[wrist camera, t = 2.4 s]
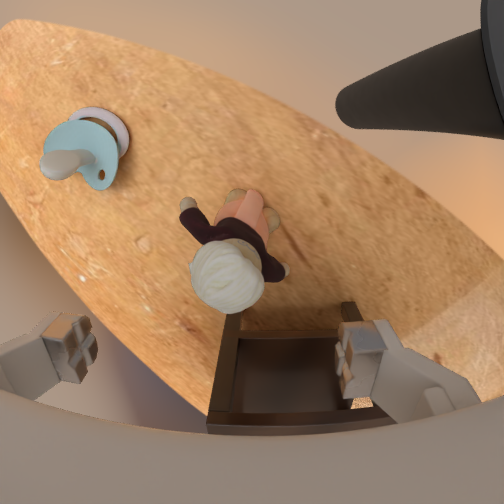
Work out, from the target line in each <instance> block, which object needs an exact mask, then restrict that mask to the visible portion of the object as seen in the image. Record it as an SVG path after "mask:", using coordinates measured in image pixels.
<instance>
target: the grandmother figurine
mask: <svg viewBox="0 0 504 504" xmlns="http://www.w3.org/2000/svg"><path fill="white" fill-rule="evenodd" d="M263 204H264V201H263V198H262V196H261V195H260V193H258V192H257V191H255V190H253V189H249V190H248V191H247V192H246V191H244V190H242V189H235V190H232V191H231V192H230V193H229V194H228V196H227V198H226V201H225V204H224V206H223V207H222V208H221V209H220V210H219V211H218V213H217V216H216V218H215V222H214V226H210V224H209V222H208V220H207V219H206V217H205V215H204V214H203V213H202V212H201V211H200V210H199V208H198V207H197V203H196V201H195V199H193V198H191V197H186V198H184V199H182V201H181V202H180V209H181V214H180V217H179V219H180V221H181V223H182V225H183V226H184V227H185V228H186V229H187V230H188V231H189V232H190V233H191V234H192V235H193V236H194V237H195V238H196V239H197V240H198V241H199V242H200V243H201V244H203V246H202V247H201V248H200V249H199V250H198V251H197V253H196V254H195V257H194V259H193V262H192V263H189V269H190V273H191V283H192V287H193V289H194V291H195V293H196V294H197V296H198V297H199V298H200V299H201V300H202V301H203V302H205V303H206V304H207V305H209V306H210V307H212V308H215V309H217V310H219V311H220V312H222V313H226V314H233V313H237V312H240V311H242V310H244V309H246V308H248V307H250V306H252V305H253V304H254V303H255V302H256V301H257V300H258V299H259V298H260V297H261V295H262V293H263V291H264V288H265V287H264V282H273V283H276V282H280V281H282V280H283V279H284V278H285V277H287V276H288V274H289V272H290V268H289V266H288V264H286V263H285V262H278V261H277V260H276V259H275V258H274V257H272V256H271V255H270V254H268V253H267V251H266V250H267V241H268V237H269V233H271V232H273V231H274V230H276V229H277V228H278V226H279V224H280V217H279V215H278V214H277V212H276V211H275V210H274V209H272V208H268V207H265V208H263Z"/></svg>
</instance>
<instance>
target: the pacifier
mask: <svg viewBox="0 0 504 504" xmlns="http://www.w3.org/2000/svg"><path fill="white" fill-rule="evenodd" d="M87 117H95V118H99V119H101V120H103V121H105V122H106V123H108V124H109V125H110V126H111V127H112V128H113V130H114V131H115V133H116V135H117V140H118V142H117V143H116V141H115V139H114V137H113V136H112V135H111V133H110V132H109V131H108V130H107V129H105V128H104V127H103V126H101V125H99V124H97V123H94V122H91V121H87V120H82V119H84V118H87ZM128 145H129V134H128V131H127V129H126V127H125V125H124V124H123V122H122V121H121V120H120V119H119V118H118V117H117V116H116V115H114V114H113V113H111V112H109V111H107V110H105V109H102V108H98V107H86V108H82V109H79V110H77V111H76V112H74V113H73V114H72V115H71V116H70V117H69V119H68V121H67V122H63V123H62V124H60V125H58V126H57V127H56V128H54V130H52V131H51V132H50V134H49V135H48V137H47V138H46V140H45V144H44V149H43V151H44V155H43V156H42V157H41V159H40V164H39V165H40V170H41V172H42V173H43V175H44V176H46V177H47V178H49V179H51V180H63V179H66V178H68V177H70V176H72V175H73V174H74V173H76V172H80V173H82V175H83V177H84V179H85V180H86V182H87V183H88V184H89V185H90V186H91V187H92V188H94V189H96V190H104V189H106V188H108V187H109V186H110V185H111V184H112V183H113V181H114V179H115V177H116V174H117V170H118V164H119V158H120V157H122V156H123V155H124V154H125V152H126V151H127V149H128ZM101 170H104V171H105V178H104V180H101V179H100V176H99V174H100V171H101Z"/></svg>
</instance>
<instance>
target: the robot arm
mask: <svg viewBox="0 0 504 504" xmlns="http://www.w3.org/2000/svg"><path fill="white" fill-rule="evenodd" d="M91 328H92V325H91V322H90V319H89V318H88V317H87V316H85V315H78V314H70V313H62V312H50V313H49V314H48V315H47V316H46V317H45V318H44V319H43V320H42V321H41V322H40V323H39V324H38V325H37V326H36V327H35V328H34V329H33V330H32V331H31V332H30V333H29V334H24V335H22V336H20V337H17V338H15V339H12V340H10V341H8V342H5V343H3V344H1V345H0V504H504V395H503V396H500V397H497V398H494V399H491V400H488V401H485V402H481V400H480V398H479V397H478V395H477V394H476V392H475V391H474V389H473V388H472V386H471V385H470V383H469V381H468V380H467V379H466V378H464V377H462V376H460V375H458V374H457V373H455V372H453V371H451V370H449V369H447V368H445V367H443V366H442V365H440V364H438V363H436V362H434V361H432V360H430V359H429V358H427V357H425V356H423V355H421V354H419V353H417V352H416V351H414V350H412V349H410V348H404V347H403V345H402V343H401V341H400V340H399V338H398V336H397V335H396V333H395V332H394V330H393V328H392V327H391V325H390V323H389V322H388V320H386V319H378V320H370V321H357V322H342V323H340V324H339V327H338V332H337V335H338V338H339V342H338V343H337V344H336V345H335V351H334V366H335V371H336V374H337V375H339V376H340V381H339V386H340V389H341V393H342V396H343V399H348V398H361V397H370V399H371V400H372V401H374V402H375V403H376V404H377V405H378V406H379V407H380V408H381V409H382V410H384V411H385V412H386V413H387V414H388V415H389V416H390V417H391V418H393V419H394V420H395V421H396V422H397V423H398V424H393V425H388V426H382V427H375V428H368V429H361V430H354V431H345V432H336V433H325V434H312V435H292V436H234V435H214V434H200V433H188V432H178V431H170V430H161V429H154V428H147V427H141V426H134V425H129V424H124V423H118V422H113V421H108V420H103V419H99V418H94V417H90V416H86V415H82V414H78V413H74V412H70V411H66V410H63V409H59V408H56V407H52V406H49V405H45V404H42V403H39V402H36V401H34V400H35V399H37V398H38V397H40V396H41V395H42V394H44V393H45V392H47V391H48V390H49V389H51V388H52V387H54V386H55V385H56V384H58V383H59V382H60V380H61V381H66V382H71V383H77V384H81V382H82V380H83V379H84V377H85V376H86V374H87V372H88V370H87V366H89V365H91V364H93V363H94V361H95V359H96V357H97V352H98V347H97V341H96V338H95V336H94V335H93V334H92V333H91V332H90V331H91Z"/></svg>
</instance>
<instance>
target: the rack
mask: <svg viewBox="0 0 504 504" xmlns="http://www.w3.org/2000/svg"><path fill="white" fill-rule="evenodd" d="M341 315H342V318H343V321H344V322H357V321H364V320H363V318H362V316H361V314H360V312H359V310H358V308H357V305H356V303H355V302H343V303H342V308H341ZM242 319H243V310H242V311H240V312H237V313H233V314H227V315H226V320H225V325H224V330H223V335H222V340H221V346H220V351H219V356H218V361H217V367H216V372H215V377H214V383H213V388H212V393H211V399H210V404H209V410H208V411H209V412H208V416H207V422H206V426H207V431H208V434H214V435H234V436H292V435H312V434H325V433H336V432H345V431H354V430H361V429H368V428H375V427H382V426H388V425H393V424H398V423H397V422H396V421H395V420H394V419H393V418H391V417H390V416H389V415H388V414H387V413H386V412H385V411H384V410H382V409H381V408H380V407H379V406H378V405H377V404H376V403H375V402H374V401H372V403H373V407H367V408H357V409H351V406H352V402H353V399H354V398H348V399H343V396H342V393H341V389H340V386H339V381H340V376H339V375H337V374H336V371H335V366H334V351H335V345H336V344H337V343H338V342H339V338H338V335H337V332H338V329H329V330H241V328H242Z"/></svg>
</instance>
